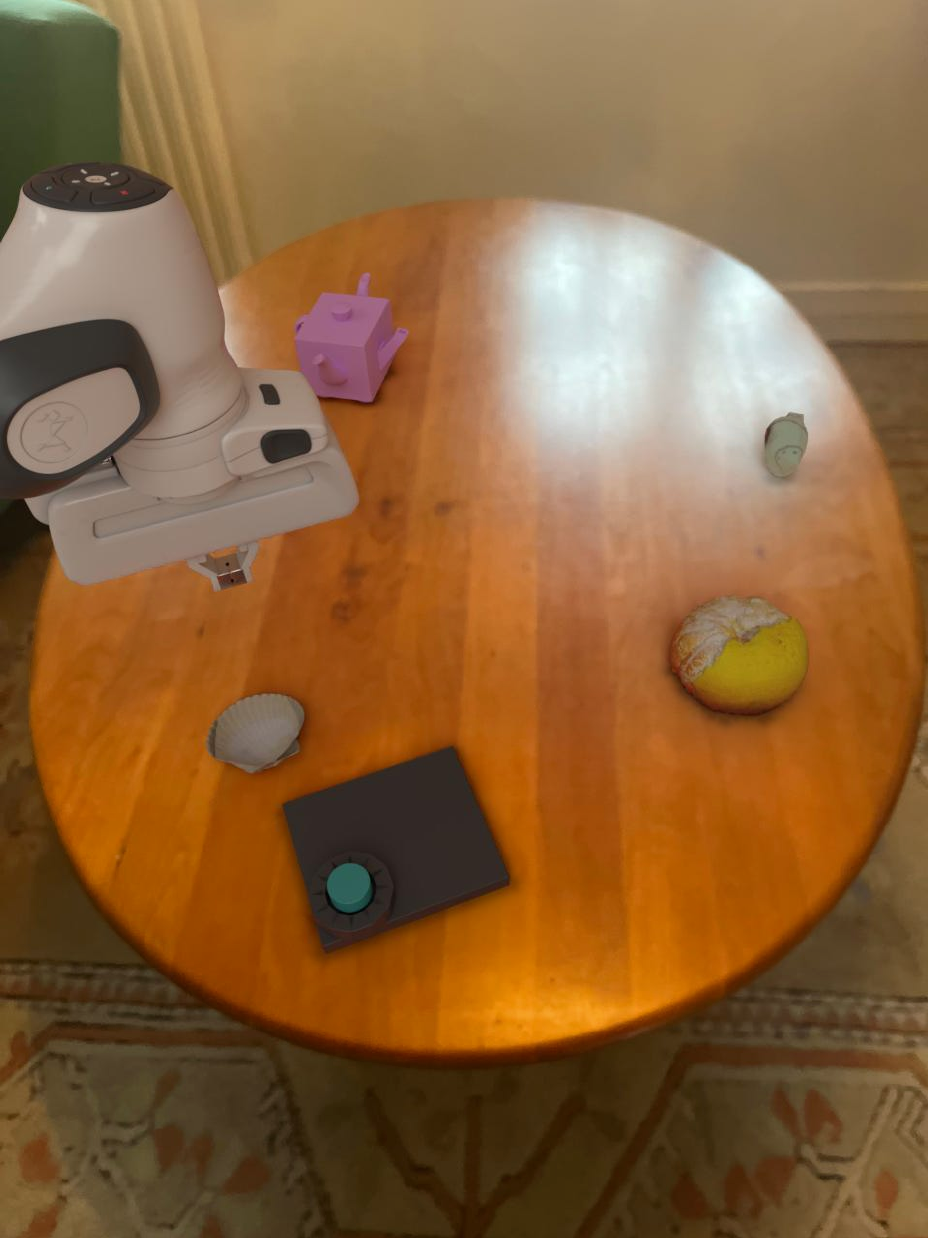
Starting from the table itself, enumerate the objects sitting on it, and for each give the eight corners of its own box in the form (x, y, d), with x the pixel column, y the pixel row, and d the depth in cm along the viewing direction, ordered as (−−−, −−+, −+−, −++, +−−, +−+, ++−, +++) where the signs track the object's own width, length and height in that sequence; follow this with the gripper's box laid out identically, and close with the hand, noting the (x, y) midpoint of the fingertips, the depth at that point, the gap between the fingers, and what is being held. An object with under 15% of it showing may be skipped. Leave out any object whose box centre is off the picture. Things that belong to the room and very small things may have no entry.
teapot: (390, 439, 103) (380, 362, 95) (276, 424, 105) (258, 348, 98) (434, 343, 114) (428, 268, 106) (330, 332, 116) (317, 258, 109)
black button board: (326, 960, 67) (320, 944, 64) (285, 812, 74) (277, 793, 72) (512, 890, 69) (512, 872, 67) (453, 754, 77) (451, 734, 75)
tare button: (336, 919, 66) (333, 910, 65) (325, 881, 68) (322, 871, 66) (378, 904, 66) (375, 894, 65) (365, 866, 68) (363, 856, 67)
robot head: (794, 503, 94) (810, 449, 89) (752, 496, 95) (765, 443, 90) (799, 451, 99) (815, 398, 94) (759, 445, 100) (773, 392, 94)
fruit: (781, 610, 85) (811, 571, 77) (801, 724, 80) (835, 694, 73) (656, 614, 84) (673, 576, 77) (669, 728, 80) (689, 699, 73)
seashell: (290, 707, 83) (197, 726, 80) (290, 680, 81) (195, 698, 78) (319, 771, 77) (220, 795, 74) (320, 743, 75) (218, 766, 72)
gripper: (12, 507, 55) (93, 652, 66) (350, 421, 59) (376, 572, 70) (8, 442, 59) (85, 589, 70) (326, 366, 63) (353, 517, 74)
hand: (233, 580), depth 70 cm, fingers closed
